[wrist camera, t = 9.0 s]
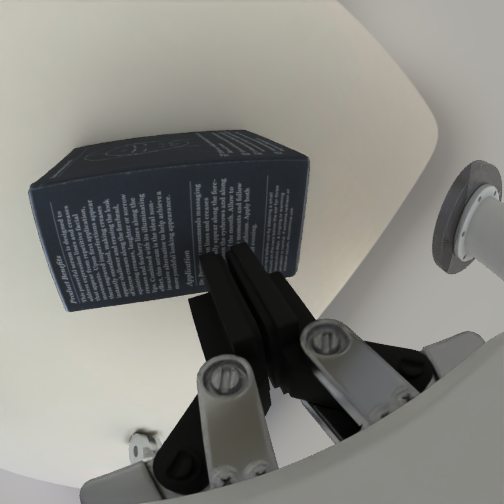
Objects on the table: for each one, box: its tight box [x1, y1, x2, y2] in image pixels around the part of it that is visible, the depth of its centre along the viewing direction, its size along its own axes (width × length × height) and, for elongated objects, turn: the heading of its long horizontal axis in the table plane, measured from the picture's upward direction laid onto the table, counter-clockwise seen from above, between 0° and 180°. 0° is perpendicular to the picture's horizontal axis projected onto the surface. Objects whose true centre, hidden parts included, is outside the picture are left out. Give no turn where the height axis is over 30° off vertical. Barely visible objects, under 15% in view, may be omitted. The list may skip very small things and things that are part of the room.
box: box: [28, 130, 310, 312], centre depth 14 cm, size 8×6×11 cm
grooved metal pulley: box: [129, 433, 162, 465], centre depth 28 cm, size 5×3×5 cm, turn 141°
